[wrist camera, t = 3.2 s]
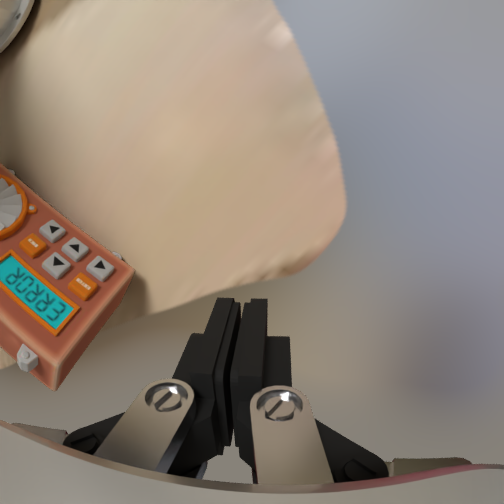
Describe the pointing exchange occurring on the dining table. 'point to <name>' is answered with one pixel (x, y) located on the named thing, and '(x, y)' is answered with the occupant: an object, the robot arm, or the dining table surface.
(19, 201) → the control panel
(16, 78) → the dining table surface
